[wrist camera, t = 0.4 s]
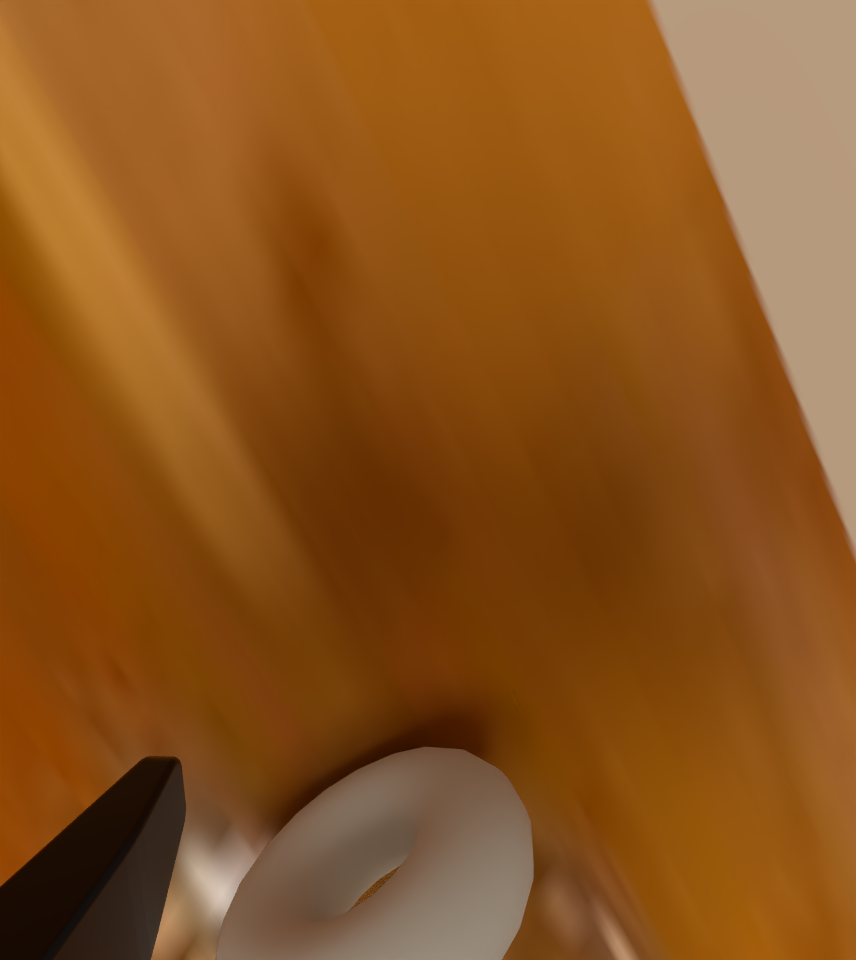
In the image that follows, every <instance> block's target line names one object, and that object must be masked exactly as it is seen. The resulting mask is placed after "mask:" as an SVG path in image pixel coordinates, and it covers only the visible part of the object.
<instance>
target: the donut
mask: <svg viewBox="0 0 856 960" xmlns="http://www.w3.org/2000/svg"><path fill="white" fill-rule="evenodd" d="M399 866H400V867H399ZM397 867H399V868H398V870H397V871H396V872H395V874H394V875H393V876H392V877H391V878H390V879H389V880H388V881H387V882H386V883H384V884H383V885H382V886H381V887H380V888H379V889H378V890H377V891H376V892H375V893H374V894H373V895H372V896H370V897H369V898H367V899H366V900H364V901H363V902H361V903H360V904H358V905H357V906H355V907H354V908H352V907H353V905H354V904H355V903H356V901H357V900H358V899H359V898H360V896H361V895H362V894H363V893H365V892H366V891H367V890H368V889H369V888H370V887H371V886H372V885H373V884H374V883H375V882H376V881H378V880H379V879H380V878H382V877H383V876H385V875H386V874H388V873H389V872H391V871H392V870H394V869H395V868H397ZM533 879H534V863H533V846H532V829H531V821H530V819H529V816H528V813H527V811H526V808H525V806H524V805H523V803H522V801H521V799H520V798H519V796H518V794H517V792H516V791H515V789H514V787H513V785H512V784H511V782H510V781H509V779H508V778H507V777H506V776H505V775H504V773H503V772H502V771H501V770H500V769H498V768H497V767H495V766H493V765H491V764H489V763H488V762H486V761H484V760H482V759H480V758H479V757H477V756H475V755H473V754H471V753H469V752H468V751H466V750H462V749H452V748H438V747H421V748H416V749H412V750H407V751H403V752H398V753H394V754H392V755H389V756H387V757H385V758H382V759H380V760H378V761H375V762H373V763H371V764H369V765H366V766H364V767H362V768H360V769H358V770H356V771H354V772H353V773H351V774H349V775H348V776H346V777H345V778H343V779H341V780H340V781H338V782H337V783H335V784H333V785H332V786H330V787H329V788H327V789H326V790H324V791H323V792H322V793H321V794H320V795H318V796H317V797H316V798H315V799H314V800H312V801H311V802H310V803H309V804H307V805H306V806H305V807H304V808H303V809H301V810H300V811H299V812H298V813H297V814H296V815H295V816H294V817H293V818H292V819H291V820H290V821H289V822H288V823H287V824H286V825H285V826H284V827H283V829H282V830H281V831H280V832H279V833H278V834H277V835H276V836H275V837H274V838H273V839H272V840H271V841H270V842H269V844H268V845H267V846H266V847H265V848H264V850H263V851H262V853H261V854H260V856H259V857H258V858H257V860H256V861H255V863H254V864H253V866H252V867H251V868H250V870H249V871H248V873H247V874H246V876H245V877H244V878H243V880H242V881H241V883H240V885H239V887H238V889H237V892H236V894H235V896H234V898H233V900H232V902H231V905H230V907H229V909H228V911H227V913H226V915H225V918H224V921H223V924H222V928H221V932H220V936H219V942H218V948H217V954H216V960H502V958H503V957H504V955H505V953H506V952H507V950H508V948H509V946H510V945H511V943H512V941H513V939H514V938H515V936H516V934H517V932H518V930H519V928H520V925H521V922H522V918H523V915H524V911H525V907H526V904H527V900H528V897H529V893H530V889H531V886H532V882H533ZM351 908H352V909H351ZM350 909H351V910H350Z"/></svg>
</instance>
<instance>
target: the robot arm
mask: <svg viewBox="0 0 856 960" xmlns="http://www.w3.org/2000/svg"><path fill="white" fill-rule="evenodd" d="M185 814H186V803H185V793H184V784H183V774H182V766H181V763H180V760H179V759H178V758H176V757H166V756H148V757H145V758H144V759H142V760H140V761H139V762H138V763H137V764H136V765H135V766H134V767H133V768H131V769H130V770H129V771H128V772H127V773H126V774H125V775H124V776H123V777H121V778H120V779H119V780H118V781H117V782H116V783H115V784H114V785H113V786H112V787H110V788H109V789H108V790H107V791H106V792H105V793H104V794H103V795H102V796H100V797H99V798H98V799H97V800H96V801H95V802H94V803H93V804H92V805H90V806H89V807H88V808H87V809H86V810H85V811H84V812H83V813H82V814H80V815H79V816H78V817H77V818H76V819H75V820H74V821H73V822H72V823H70V824H69V825H68V826H67V827H66V828H65V829H64V830H63V831H62V832H61V833H59V834H58V835H57V836H56V837H55V838H54V839H53V840H52V841H51V842H49V843H48V844H47V845H46V846H45V847H44V848H43V849H42V850H41V851H39V852H38V853H37V854H36V855H35V856H34V857H33V858H32V859H31V860H29V861H28V862H27V863H26V864H25V865H24V866H23V867H22V868H21V869H19V870H18V871H17V872H16V873H15V874H14V875H13V876H12V877H11V878H10V879H8V880H7V881H6V882H5V883H4V884H3V885H2V886H1V887H0V960H151V957H152V953H153V949H154V945H155V941H156V937H157V934H158V930H159V925H160V921H161V917H162V913H163V909H164V905H165V901H166V897H167V893H168V888H169V884H170V880H171V876H172V872H173V868H174V864H175V860H176V856H177V852H178V847H179V843H180V839H181V835H182V831H183V827H184V822H185Z"/></svg>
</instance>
